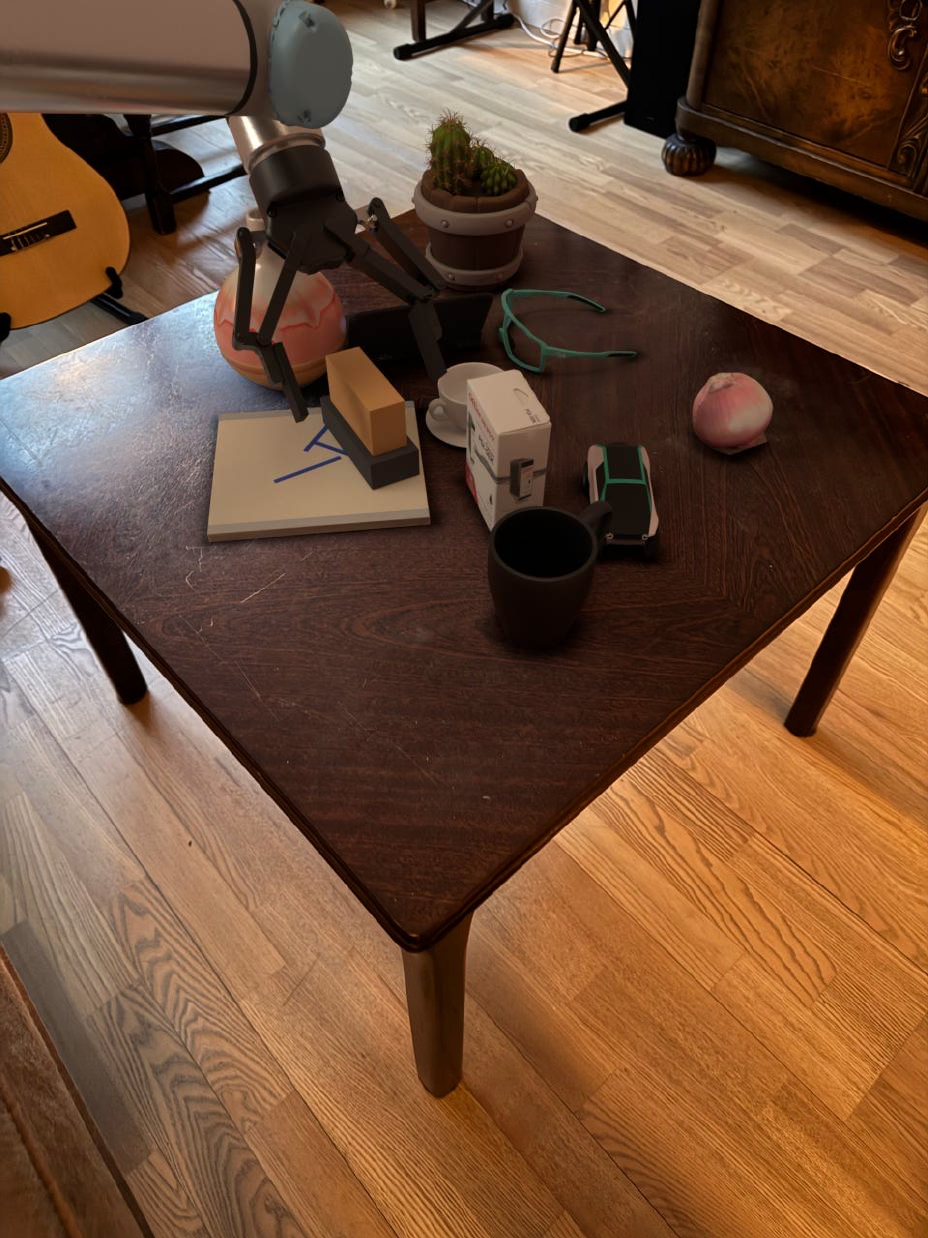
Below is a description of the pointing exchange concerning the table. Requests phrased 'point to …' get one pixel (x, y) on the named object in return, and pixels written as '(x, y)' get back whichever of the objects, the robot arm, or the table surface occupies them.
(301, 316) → the vase
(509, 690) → the table surface
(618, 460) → the toy car
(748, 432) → the onion
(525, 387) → the ink box
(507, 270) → the flowerpot
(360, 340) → the game console
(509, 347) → the sunglasses
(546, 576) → the mug
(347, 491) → the board
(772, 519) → the table surface
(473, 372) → the teacup
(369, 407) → the eraser
